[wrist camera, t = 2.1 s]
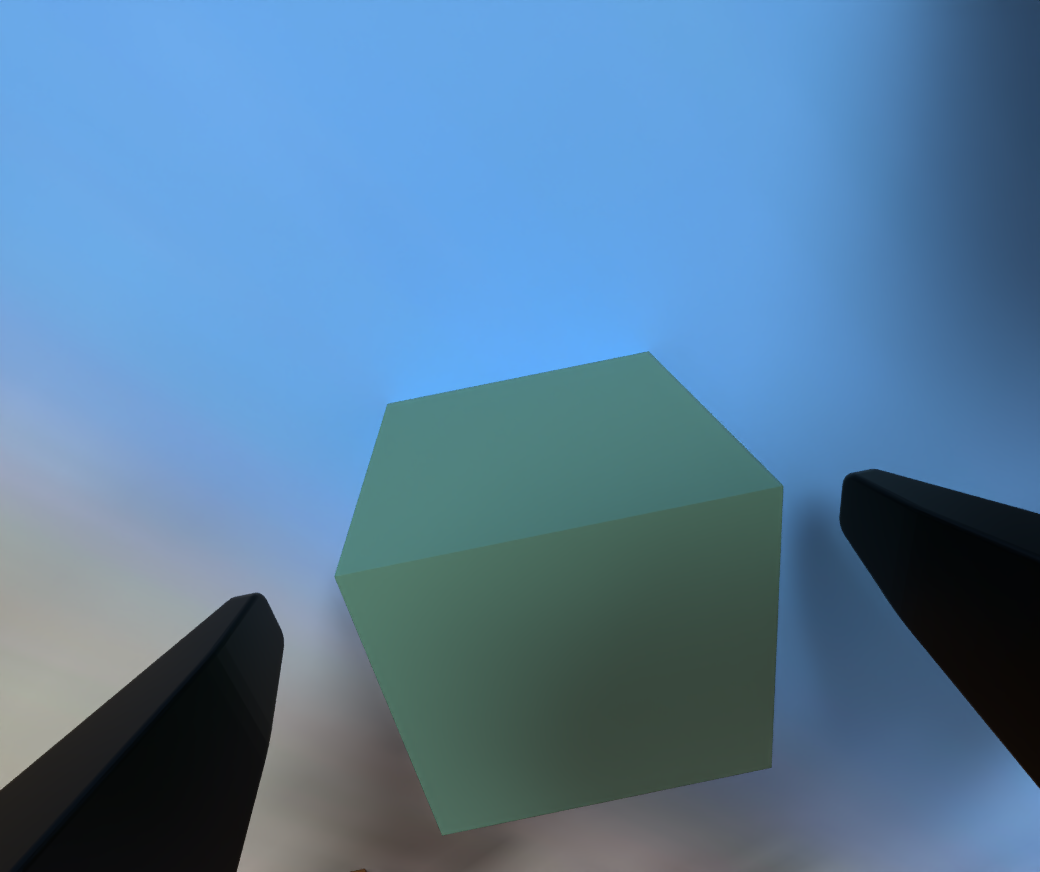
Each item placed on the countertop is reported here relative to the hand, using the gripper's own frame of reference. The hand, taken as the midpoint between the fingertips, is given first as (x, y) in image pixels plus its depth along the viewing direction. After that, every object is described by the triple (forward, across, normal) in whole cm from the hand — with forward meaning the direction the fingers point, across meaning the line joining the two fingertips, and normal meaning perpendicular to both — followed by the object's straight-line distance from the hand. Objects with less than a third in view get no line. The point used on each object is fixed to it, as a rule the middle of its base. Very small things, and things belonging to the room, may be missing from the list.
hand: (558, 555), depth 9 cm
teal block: (+2, 0, 0) cm, 2 cm away
